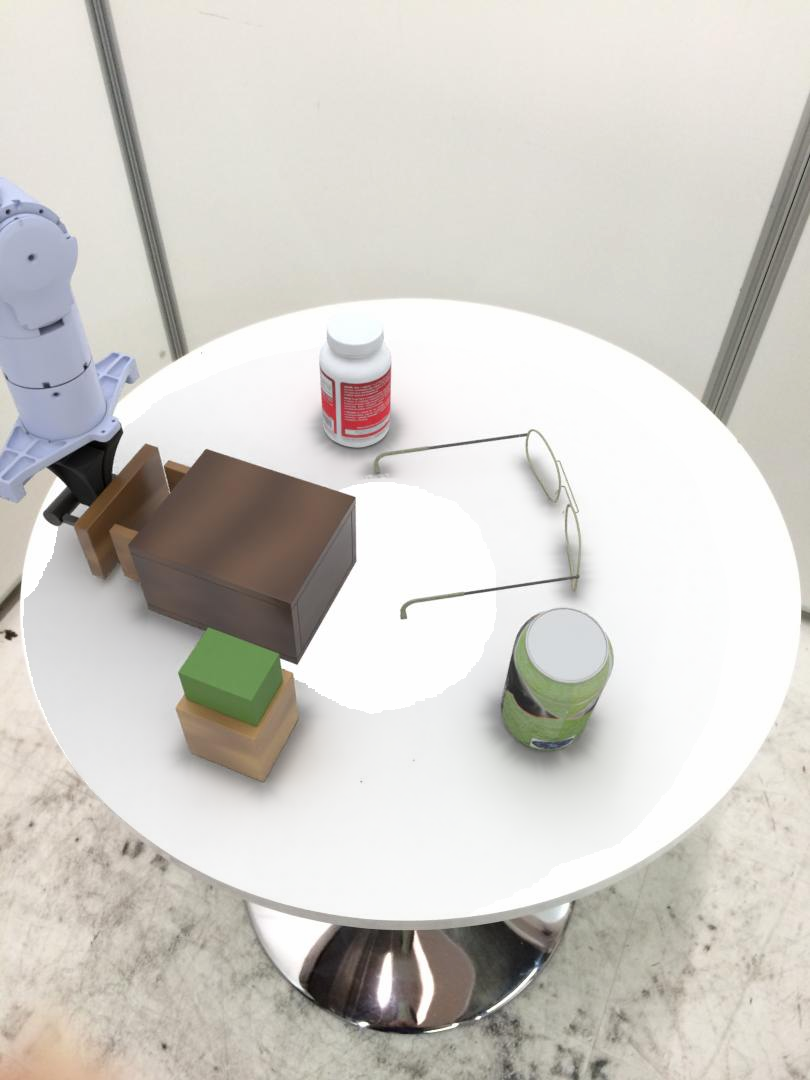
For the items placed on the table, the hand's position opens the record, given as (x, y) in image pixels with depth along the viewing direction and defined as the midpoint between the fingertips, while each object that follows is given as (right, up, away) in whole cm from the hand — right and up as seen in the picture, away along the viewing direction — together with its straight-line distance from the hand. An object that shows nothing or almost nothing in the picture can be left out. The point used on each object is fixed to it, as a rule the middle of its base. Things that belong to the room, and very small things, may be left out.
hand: (95, 501), depth 68 cm
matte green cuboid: (+13, -13, -13) cm, 23 cm away
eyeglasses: (+30, -3, +4) cm, 30 cm away
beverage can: (+34, -16, -7) cm, 38 cm away
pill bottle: (+20, +7, +12) cm, 24 cm away
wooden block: (+13, -16, -8) cm, 23 cm away
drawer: (+5, -4, +1) cm, 6 cm away
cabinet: (+13, -7, 0) cm, 14 cm away
